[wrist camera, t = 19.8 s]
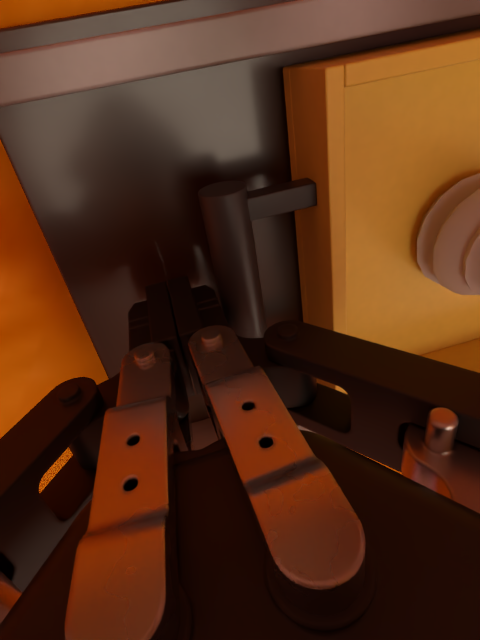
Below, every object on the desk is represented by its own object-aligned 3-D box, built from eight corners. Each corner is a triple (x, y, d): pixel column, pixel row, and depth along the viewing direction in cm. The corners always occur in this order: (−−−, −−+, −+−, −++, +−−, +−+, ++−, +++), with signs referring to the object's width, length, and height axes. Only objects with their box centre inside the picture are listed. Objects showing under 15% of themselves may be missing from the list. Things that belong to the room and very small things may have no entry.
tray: (239, 407, 19) (257, 460, 16) (169, 89, 12) (182, 96, 9) (547, 315, 21) (606, 350, 18) (652, -7, 14) (775, -23, 11)
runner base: (144, 444, 20) (147, 497, 18) (-36, 38, 11) (-80, 30, 8) (573, 315, 23) (626, 345, 21) (725, -93, 14) (855, -127, 11)
